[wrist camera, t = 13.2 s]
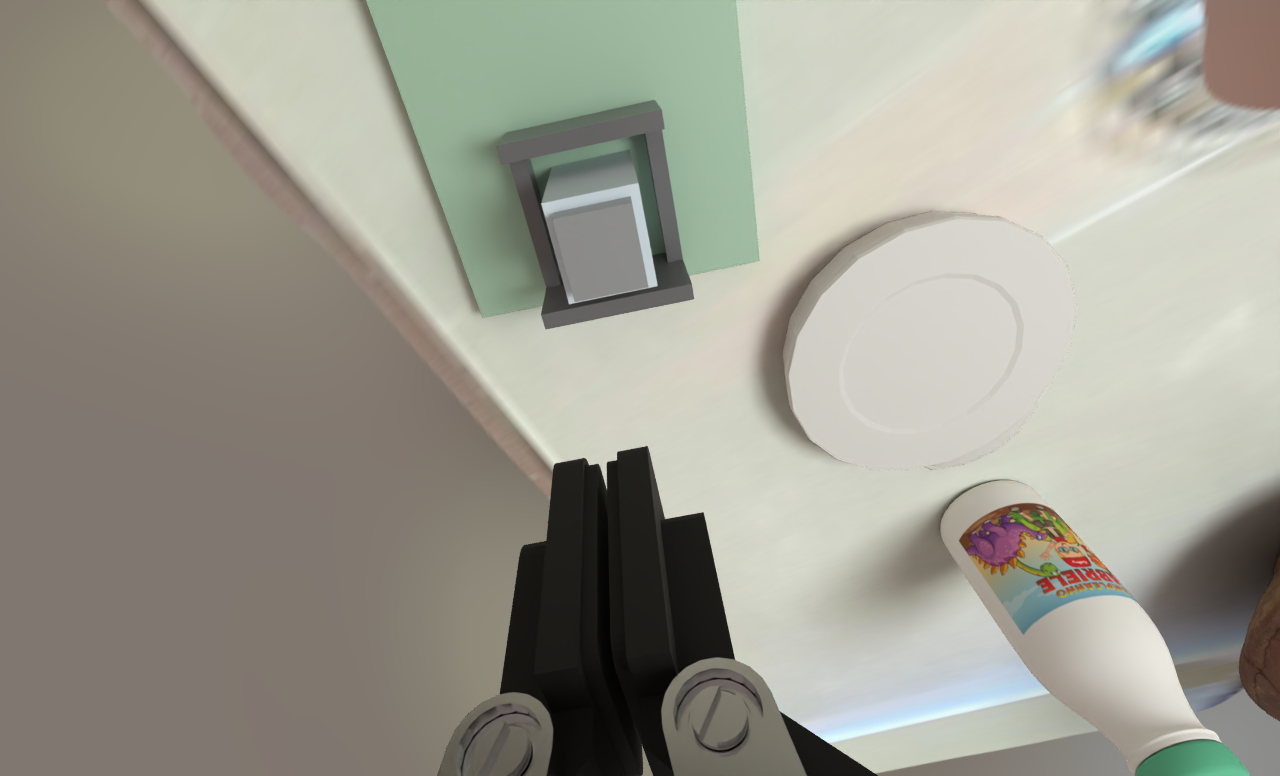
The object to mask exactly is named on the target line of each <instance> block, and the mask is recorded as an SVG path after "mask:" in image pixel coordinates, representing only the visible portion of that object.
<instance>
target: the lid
mask: <svg viewBox="0 0 1280 776" xmlns="http://www.w3.org/2000/svg"><path fill="white" fill-rule="evenodd" d="M1076 311H1077V302H1076V298H1075V293H1074V289H1073V285H1072V281H1071V277H1070V273H1069V269H1068V266H1067V265H1066V264H1065V262H1064V261H1063V260H1062V259H1061V258H1060V256H1059V255H1058V254H1057V253H1056V252H1055V250H1054V249H1053V248H1052V247H1051V246H1050V244H1049V243H1048V242H1047V241H1046V240H1045V239H1044V237H1043V236H1041V235H1039V234H1037V233H1035V232H1033V231H1030V230H1028V229H1026V228H1024V227H1022V226H1019V225H1017V224H1015V223H1013V222H1010V221H1008V220H1006V219H1004V218H1002V217H999V216H985V215H977V214H975V213H960V212H940V211H930V212H926V213H922V214H918V215H914V216H911V217H907V218H903V219H899V220H895V221H892V222H888V223H885V224H883V225H882V226H880V227H878V228H876V229H875V230H873V231H871V232H869V233H868V234H866V235H864V236H863V237H861V238H859V239H857V240H856V241H854V242H852V243H851V244H849V245H847V246H845V247H844V248H843V249H842V250H841V251H840V252H839V253H838V254H837V255H836V256H835V257H834V258H833V259H832V260H831V261H830V262H829V263H828V264H827V265H826V266H825V267H824V268H823V269H822V270H821V271H820V272H819V273H818V274H817V275H816V276H815V277H814V278H813V279H812V280H811V281H810V283H809V285H808V287H807V288H806V290H805V292H804V294H803V295H802V297H801V299H800V301H799V303H798V304H797V306H796V308H795V310H794V311H793V313H792V315H791V317H790V321H789V325H788V330H787V335H786V339H785V344H784V349H783V353H782V355H783V361H784V368H785V369H784V373H785V380H786V386H787V393H788V400H789V407H790V409H791V411H792V412H793V414H794V415H795V417H796V419H797V420H798V422H799V424H800V425H801V427H802V429H803V430H804V432H805V434H806V435H807V437H808V439H810V440H811V441H812V442H814V443H815V444H816V445H818V446H819V447H820V448H822V449H823V450H824V451H826V452H827V453H829V454H830V455H831V456H833V457H834V458H835V459H837V460H841V461H844V462H847V463H851V464H854V465H857V466H861V467H864V468H867V469H870V470H913V469H917V468H921V467H926V468H928V469H930V470H935V469H941V468H947V467H954V466H960V465H964V464H967V463H969V462H971V461H974V460H976V459H978V458H980V457H983V456H985V455H987V454H990V453H992V452H993V451H995V450H996V449H997V448H999V447H1000V446H1001V445H1002V444H1004V443H1005V442H1006V441H1008V440H1009V439H1010V438H1011V437H1013V436H1014V435H1015V434H1017V433H1018V432H1019V430H1020V429H1021V428H1022V426H1023V425H1024V424H1025V422H1026V421H1027V420H1028V418H1029V417H1030V416H1031V414H1032V413H1033V412H1034V410H1035V409H1036V408H1037V400H1038V399H1039V398H1040V397H1041V396H1042V395H1043V393H1044V392H1045V391H1046V390H1047V389H1048V388H1049V386H1050V385H1051V384H1052V383H1053V381H1054V379H1055V377H1056V375H1057V373H1058V371H1059V369H1060V367H1061V365H1062V363H1063V361H1064V359H1065V357H1066V355H1067V353H1068V351H1069V349H1070V347H1071V344H1072V338H1073V331H1074V324H1075V318H1076Z"/></svg>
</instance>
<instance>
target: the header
mask: <svg viewBox="0 0 1280 776" xmlns="http://www.w3.org/2000/svg"><path fill="white" fill-rule="evenodd" d="M663 129H665V126H664V120H663V114H662V109H661V108H660V106H659V105H658V103H657V102H656V100H651V101H647V102H642V103H638V104H633V105H629V106H624V107H620V108H615V109H610V110H606V111H601V112H597V113H592V114H588V115H583V116H579V117H574V118H570V119H565V120H561V121H556V122H552V123H547V124H543V125H538V126H534V127H529V128H525V129H520V130H515V131H511V132H506V133H505V135H504V136H503V137H502V139H501V140H500V141H499V142H498V144H497V145H496V149H497V152H498V155H499V159H500V162H501V165H503V164H507V163H509V164H510V168H511V171H512V174H513V178H514V181H515V184H516V188H517V191H518V195H519V198H520V201H521V205H522V208H523V211H524V215H525V218H526V222H527V225H528V228H529V232H530V235H531V238H532V242H533V245H534V249H535V252H536V255H537V259H538V262H539V265H540V269H541V272H542V275H543V279H544V282H545V286H546V292H545V297H544V302H543V308H542V313H541V316H542V319H543V322H544V326H545V329H550V328H555V327H560V326H565V325H570V324H574V323H579V322H584V321H589V320H594V319H599V318H604V317H609V316H614V315H619V314H624V313H628V312H633V311H638V310H643V309H648V308H653V307H658V306H663V305H668V304H673V303H677V302H682V301H687V300H692V299H694V295H693V289H692V283H691V281H690V278H689V275H688V272H687V269H686V266H685V264H684V261H683V256H682V250H681V244H680V238H679V231H678V225H677V219H676V213H675V207H674V201H673V194H672V188H671V182H670V176H669V170H668V164H667V157H666V151H665V145H664V139H663V133H662V130H663ZM640 134H644V136H645V142H646V147H647V153H648V159H649V164H650V170H651V175H652V181H653V187H654V192H655V198H656V204H657V209H658V215H659V221H660V226H661V232H662V237H663V243H664V249H665V253H660V254H655V255H652V258H653V264H654V269H655V274H656V280H657V285H658V286H656V287H651V288H646V289H641V290H636V291H631V292H626V293H622V294H617V295H612V296H607V297H602V298H597V299H592V300H587V301H582V302H577V303H572V304H569V302H568V299H567V295H566V291H565V288H564V284H563V280H562V277H561V273H560V270H559V266H558V262H557V259H556V255H555V252H554V248H553V244H552V241H551V237H550V234H549V230H548V226H547V223H546V219H545V215H544V212H543V208H542V205H541V203H542V199H541V195H540V192H539V188H538V185H537V181H536V177H535V174H534V170H533V167H532V163H531V159H530V158H535V157H539V156H544V155H549V154H553V153H558V152H562V151H567V150H572V149H576V148H581V147H585V146H590V145H594V144H599V143H604V142H608V141H613V140H617V139H622V138H626V137H631V136H636V135H640Z"/></svg>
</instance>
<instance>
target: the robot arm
mask: <svg viewBox="0 0 1280 776" xmlns="http://www.w3.org/2000/svg"><path fill="white" fill-rule="evenodd" d="M642 746H643V748H644V751H645V754H646V757H647V760H648V762H649V765H650V768H651V771H652V773H653V776H878V775H876V774H875V773H873V772H872V771H870V770H868V769H867V768H865V767H864V766H862V765H861V764H859V763H858V762H856V761H855V760H853V759H852V758H850V757H849V756H847V755H846V754H844V753H843V752H841V751H839V750H838V749H836V748H835V747H833V746H832V745H830V744H829V743H827V742H826V741H824V740H823V739H821V738H820V737H818V736H817V735H815V734H814V733H812V732H810V731H809V730H807V729H806V728H804V727H803V726H801V725H800V724H798V723H797V722H795V721H794V720H792V719H791V718H789V717H788V716H786V715H785V714H783V713H781V712H780V711H779V709H778V707H777V704H776V702H775V699H774V697H773V695H772V692H771V691H770V689H769V688H768V686H767V684H766V683H765V681H764V680H763V678H762V677H761V676H760V675H759V674H758V673H756V672H755V671H754V670H753V669H752V668H751V667H749V666H747V665H745V664H743V663H741V662H738V661H736V660H735V657H734V653H733V648H732V643H731V639H730V634H729V629H728V625H727V620H726V615H725V610H724V606H723V601H722V596H721V592H720V587H719V582H718V578H717V573H716V568H715V563H714V559H713V554H712V549H711V545H710V540H709V535H708V531H707V526H706V521H705V517H704V513H703V512H702V513H697V514H691V515H686V516H681V517H675V518H670V519H665V517H664V513H663V509H662V505H661V500H660V496H659V492H658V487H657V483H656V479H655V474H654V470H653V466H652V462H651V457H650V453H649V449H648V447H647V446H646V447H640V448H635V449H630V450H625V451H619V452H617V460H616V461H610V462H607V489H606V486H605V482H604V479H603V475H602V472H601V469H600V466H599V464H595V465H589V464H588V462H587V460H586V459H585V458H582V459H577V460H572V461H567V462H561V463H556V464H555V465H554V468H553V478H552V488H551V499H550V510H549V520H548V531H547V540H546V541H544V542H539V543H534V544H528V545H524V546H523V547H522V549H521V552H520V557H519V563H518V570H517V577H516V584H515V591H514V598H513V605H512V612H511V620H510V626H509V633H508V640H507V648H506V654H505V661H504V668H503V675H502V682H501V689H500V695H496V696H495V697H492V698H490V699H488V700H486V701H484V702H482V703H481V704H479V705H478V706H477V707H476V708H474V709H473V710H472V711H471V712H470V713H468V714H467V715H466V716H465V718H464V719H463V720H462V721H461V723H460V724H459V725H458V726H457V728H456V729H455V731H454V733H453V735H452V737H451V739H450V741H449V743H448V745H447V748H446V751H445V754H444V757H443V760H442V763H441V765H440V768H439V772H438V774H437V776H641V775H642V774H643V757H642Z"/></svg>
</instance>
